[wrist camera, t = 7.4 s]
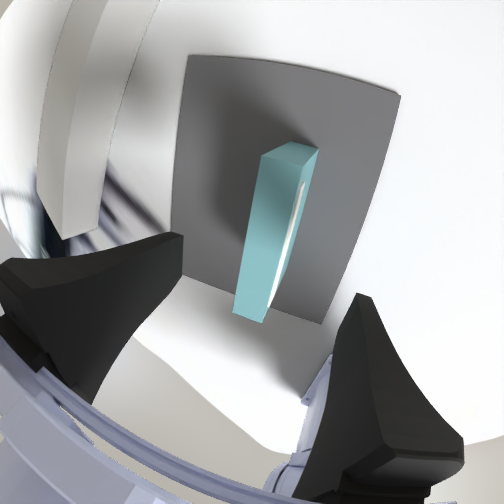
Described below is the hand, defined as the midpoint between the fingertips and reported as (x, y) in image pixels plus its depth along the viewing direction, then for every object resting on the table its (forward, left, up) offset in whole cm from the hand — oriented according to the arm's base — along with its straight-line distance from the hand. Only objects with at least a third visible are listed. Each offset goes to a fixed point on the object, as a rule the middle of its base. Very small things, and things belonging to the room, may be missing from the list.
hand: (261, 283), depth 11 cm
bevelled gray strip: (+10, +21, -10) cm, 25 cm away
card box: (0, +1, -9) cm, 9 cm away
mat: (0, +3, -9) cm, 10 cm away
